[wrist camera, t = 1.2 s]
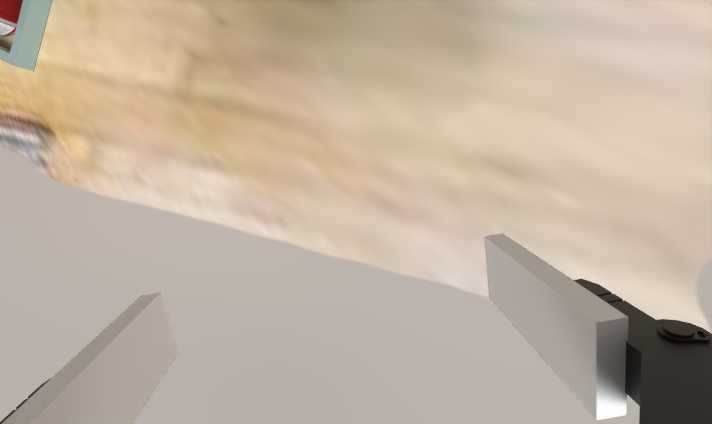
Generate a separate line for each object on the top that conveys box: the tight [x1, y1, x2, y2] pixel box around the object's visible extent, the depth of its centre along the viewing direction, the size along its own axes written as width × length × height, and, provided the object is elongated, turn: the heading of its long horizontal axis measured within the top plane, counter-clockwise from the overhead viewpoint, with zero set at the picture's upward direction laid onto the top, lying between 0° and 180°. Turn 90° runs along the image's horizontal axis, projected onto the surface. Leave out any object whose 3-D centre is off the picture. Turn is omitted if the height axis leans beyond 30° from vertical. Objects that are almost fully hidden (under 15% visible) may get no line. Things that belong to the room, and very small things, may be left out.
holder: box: [0, 0, 52, 71], centre depth 43 cm, size 11×11×2 cm
